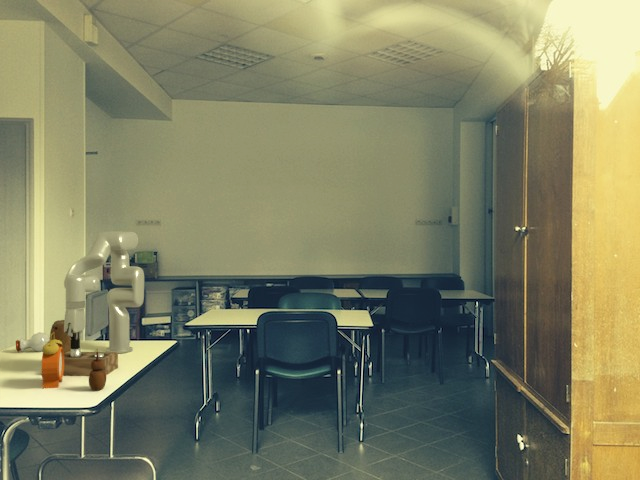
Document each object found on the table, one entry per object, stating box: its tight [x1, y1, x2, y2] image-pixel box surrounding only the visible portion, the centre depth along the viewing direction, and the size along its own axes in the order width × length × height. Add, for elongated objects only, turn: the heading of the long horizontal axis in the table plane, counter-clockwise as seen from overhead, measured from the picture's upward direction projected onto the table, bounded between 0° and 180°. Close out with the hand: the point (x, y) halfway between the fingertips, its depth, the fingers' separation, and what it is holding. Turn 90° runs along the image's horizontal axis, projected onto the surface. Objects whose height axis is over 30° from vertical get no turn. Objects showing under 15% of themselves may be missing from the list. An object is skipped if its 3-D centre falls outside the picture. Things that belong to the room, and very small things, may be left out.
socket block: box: [63, 351, 119, 377], centre depth 232 cm, size 14×22×7 cm, turn 89°
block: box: [49, 319, 71, 353], centre depth 243 cm, size 11×8×20 cm
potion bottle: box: [15, 332, 50, 353], centre depth 271 cm, size 9×10×15 cm
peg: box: [70, 347, 82, 357], centre depth 231 cm, size 4×4×7 cm
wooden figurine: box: [88, 349, 107, 391], centre depth 206 cm, size 7×6×15 cm
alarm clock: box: [41, 332, 64, 390], centre depth 212 cm, size 13×6×20 cm, turn 17°
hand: (75, 348), depth 231 cm, fingers closed
